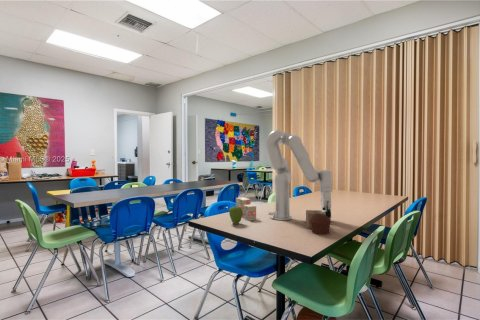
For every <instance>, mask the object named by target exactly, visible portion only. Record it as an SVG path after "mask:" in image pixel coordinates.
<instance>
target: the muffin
mask: <svg viewBox="0 0 480 320" xmlns="http://www.w3.org/2000/svg"><path fill="white" fill-rule="evenodd" d="M310 222H311V228H312V229H311V232H312V234H314V235H318V236H319V235H320V236H325V235H326V236H327V235H329V234H330V228H331V223H332V222H333V221H332V219H331V220H330V218H329V217H327V216H326V215H323V214H316V215H314V216H312V217H311V219H310Z"/></svg>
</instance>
